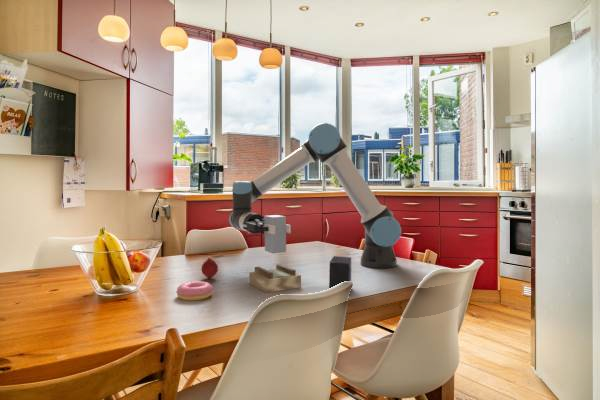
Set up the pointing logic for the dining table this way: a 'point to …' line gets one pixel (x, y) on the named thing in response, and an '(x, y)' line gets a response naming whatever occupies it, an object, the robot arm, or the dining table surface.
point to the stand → (275, 278)
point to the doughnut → (194, 290)
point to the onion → (209, 268)
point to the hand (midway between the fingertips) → (282, 229)
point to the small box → (339, 270)
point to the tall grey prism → (276, 234)
